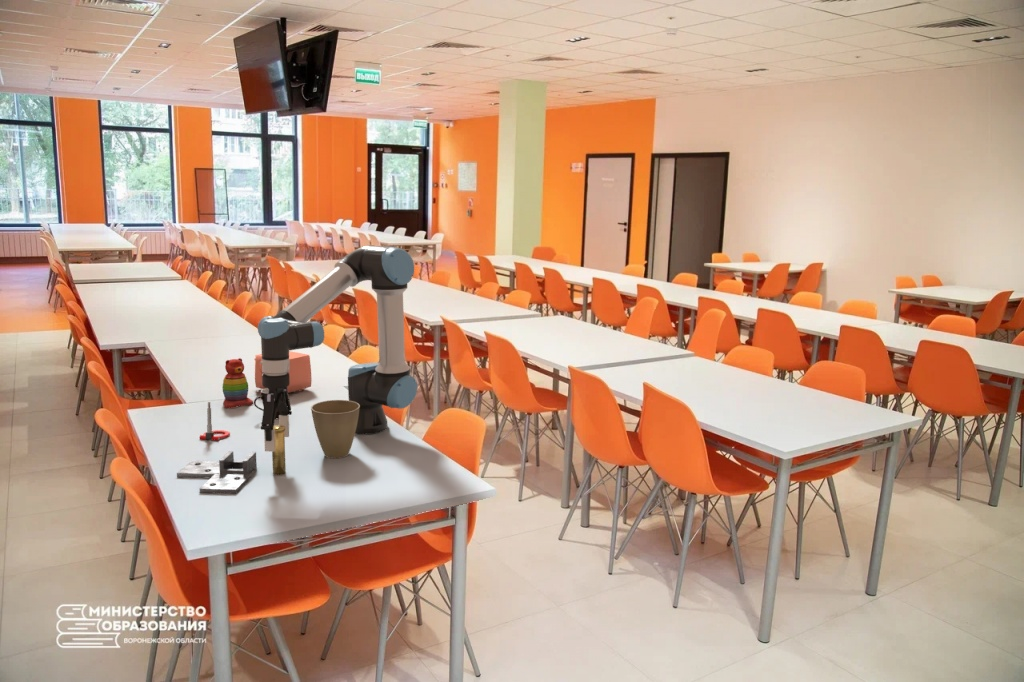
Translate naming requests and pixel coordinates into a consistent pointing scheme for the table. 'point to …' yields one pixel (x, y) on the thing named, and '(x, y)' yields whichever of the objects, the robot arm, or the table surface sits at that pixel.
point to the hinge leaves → (221, 473)
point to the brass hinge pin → (279, 451)
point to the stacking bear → (235, 385)
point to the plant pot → (335, 426)
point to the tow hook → (210, 434)
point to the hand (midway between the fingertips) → (277, 443)
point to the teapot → (290, 371)
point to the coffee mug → (263, 392)
